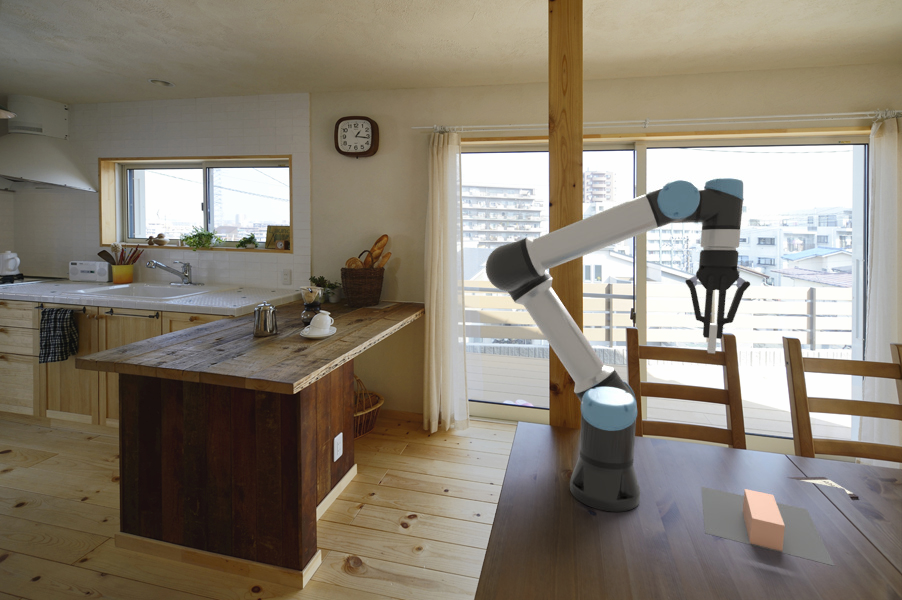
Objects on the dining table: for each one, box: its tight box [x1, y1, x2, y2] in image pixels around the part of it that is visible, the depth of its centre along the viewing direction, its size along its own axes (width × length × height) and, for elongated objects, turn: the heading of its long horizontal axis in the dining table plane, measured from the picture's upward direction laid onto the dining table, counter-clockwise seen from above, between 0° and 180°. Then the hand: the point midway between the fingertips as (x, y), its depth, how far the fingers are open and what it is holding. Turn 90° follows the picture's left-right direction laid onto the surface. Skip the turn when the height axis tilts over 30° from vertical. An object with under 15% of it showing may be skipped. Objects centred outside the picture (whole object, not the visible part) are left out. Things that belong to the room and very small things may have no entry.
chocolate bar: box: [788, 476, 860, 500], centre depth 108 cm, size 9×1×18 cm
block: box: [743, 488, 785, 551], centre depth 91 cm, size 5×5×12 cm
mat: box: [700, 486, 835, 567], centre depth 94 cm, size 20×20×1 cm
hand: (711, 351), depth 106 cm, fingers closed
